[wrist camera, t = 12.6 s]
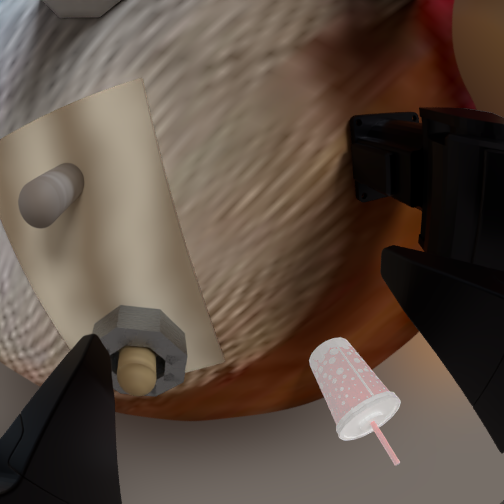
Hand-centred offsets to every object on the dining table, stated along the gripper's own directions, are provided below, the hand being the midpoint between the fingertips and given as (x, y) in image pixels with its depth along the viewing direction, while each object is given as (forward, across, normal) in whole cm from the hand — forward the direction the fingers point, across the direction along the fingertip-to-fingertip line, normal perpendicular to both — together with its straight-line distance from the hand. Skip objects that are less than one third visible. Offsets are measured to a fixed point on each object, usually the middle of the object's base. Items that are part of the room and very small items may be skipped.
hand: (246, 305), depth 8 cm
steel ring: (+11, +8, +10) cm, 17 cm away
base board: (+12, +8, +3) cm, 15 cm away
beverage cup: (+12, -8, +19) cm, 24 cm away
